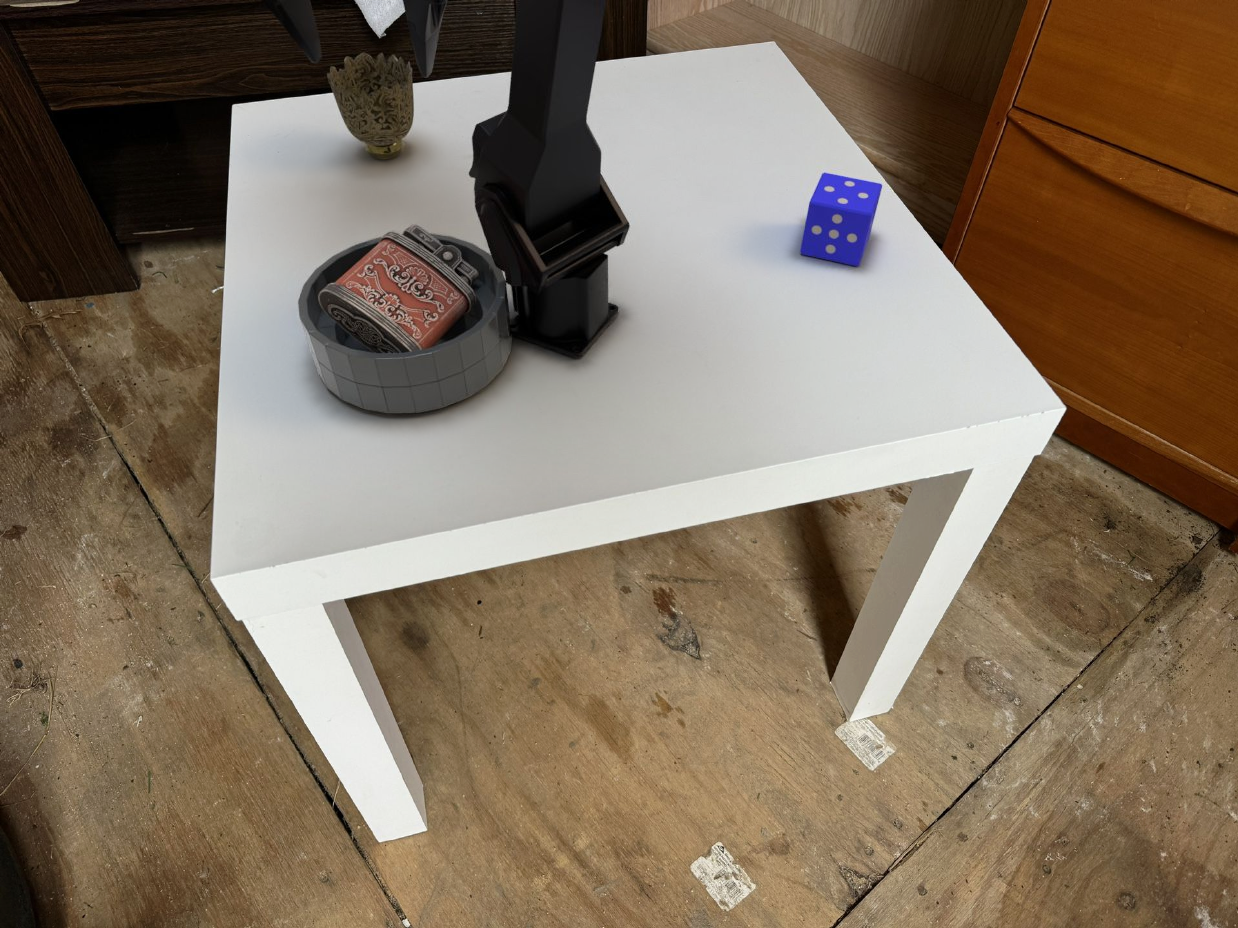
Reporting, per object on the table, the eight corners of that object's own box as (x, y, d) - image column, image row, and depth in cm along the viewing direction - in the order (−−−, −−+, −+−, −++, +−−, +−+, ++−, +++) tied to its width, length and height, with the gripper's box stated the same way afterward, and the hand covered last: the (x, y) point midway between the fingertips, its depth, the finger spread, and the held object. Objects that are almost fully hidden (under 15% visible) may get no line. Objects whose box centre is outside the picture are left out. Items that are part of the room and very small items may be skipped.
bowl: (547, 326, 68) (543, 266, 63) (437, 445, 59) (424, 385, 55) (398, 273, 72) (385, 214, 68) (276, 377, 64) (253, 317, 59)
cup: (390, 181, 81) (373, 96, 75) (330, 160, 84) (309, 76, 78) (440, 145, 86) (428, 63, 80) (382, 126, 88) (365, 45, 82)
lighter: (410, 380, 61) (487, 297, 67) (421, 354, 59) (500, 271, 64) (315, 309, 61) (400, 232, 67) (321, 280, 58) (410, 202, 64)
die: (858, 267, 73) (871, 214, 69) (799, 254, 74) (809, 201, 70) (869, 235, 76) (883, 183, 72) (812, 223, 77) (822, 171, 73)
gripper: (503, -197, 60) (521, 39, 71) (256, -216, 63) (311, 13, 75) (439, -153, 53) (470, 102, 64) (164, -176, 56) (241, 70, 67)
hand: (371, 68), depth 68 cm, fingers open, 9 cm apart
